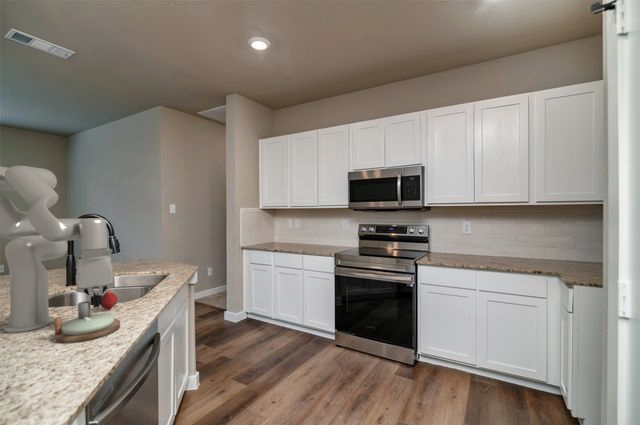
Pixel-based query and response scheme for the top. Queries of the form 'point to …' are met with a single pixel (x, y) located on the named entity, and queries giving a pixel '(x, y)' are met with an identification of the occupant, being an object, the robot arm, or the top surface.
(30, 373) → the top surface
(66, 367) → the top surface
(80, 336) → the base plate
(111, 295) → the onion
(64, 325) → the turntable
